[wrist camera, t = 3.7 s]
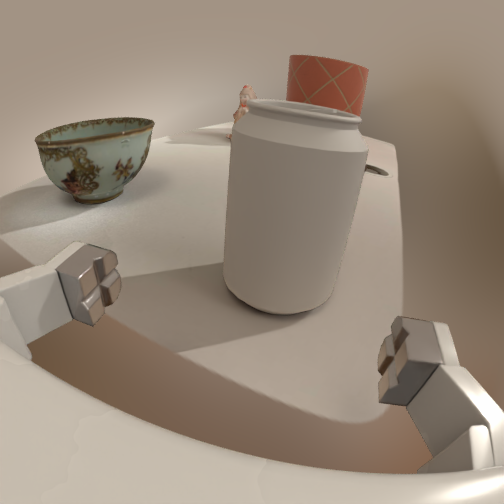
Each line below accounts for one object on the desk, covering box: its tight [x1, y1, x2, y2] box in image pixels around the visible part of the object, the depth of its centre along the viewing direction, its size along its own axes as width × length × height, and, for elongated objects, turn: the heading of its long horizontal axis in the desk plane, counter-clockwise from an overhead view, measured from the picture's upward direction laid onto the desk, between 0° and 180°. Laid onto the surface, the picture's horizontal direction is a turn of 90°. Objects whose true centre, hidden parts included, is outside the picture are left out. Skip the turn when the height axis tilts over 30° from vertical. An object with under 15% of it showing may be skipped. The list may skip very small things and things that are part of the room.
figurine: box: [226, 85, 257, 139], centre depth 57 cm, size 9×7×12 cm
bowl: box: [35, 117, 154, 204], centre depth 30 cm, size 14×13×8 cm
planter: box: [286, 55, 368, 117], centre depth 67 cm, size 19×19×20 cm
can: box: [223, 99, 369, 315], centre depth 18 cm, size 8×8×12 cm
